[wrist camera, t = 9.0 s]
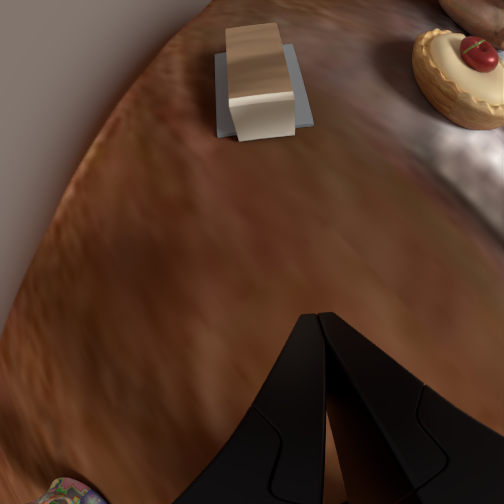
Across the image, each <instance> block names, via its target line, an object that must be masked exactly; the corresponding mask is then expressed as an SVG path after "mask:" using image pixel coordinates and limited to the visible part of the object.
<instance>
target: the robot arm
mask: <svg viewBox="0 0 504 504" xmlns="http://www.w3.org/2000/svg"><path fill="white" fill-rule="evenodd" d="M326 410H327V414H328V418H329V422H330V426H331V430H332V434H333V438H334V443H335V447H336V451H337V455H338V459H339V464H340V468H341V472H342V476H343V481H344V485H345V490H346V494H347V499H348V502H345V503H342V504H504V436H502V435H500V434H499V433H497V432H495V431H494V430H492V429H491V428H489V427H487V426H486V425H484V424H482V423H481V422H479V421H477V420H476V419H474V418H473V417H471V416H470V415H468V414H466V413H465V412H463V411H462V410H460V409H459V408H457V407H456V406H454V405H453V404H452V403H450V402H449V401H448V400H446V399H445V398H444V397H442V396H441V395H439V394H438V393H437V392H436V391H434V390H433V389H432V388H430V387H429V386H428V385H424V383H423V382H422V381H421V380H419V379H418V378H417V377H416V376H414V375H413V374H412V373H410V372H409V371H408V370H407V369H405V368H404V367H403V366H401V365H400V364H399V363H398V362H396V361H395V360H394V359H393V358H391V357H390V356H389V355H387V354H386V353H385V352H384V351H382V350H381V349H380V348H379V347H377V346H376V345H375V344H373V343H372V342H371V341H370V340H368V339H367V338H366V337H364V336H363V335H362V334H361V333H359V332H358V331H357V330H355V329H354V328H353V327H352V326H350V325H349V324H348V323H347V322H345V321H344V320H343V319H341V318H340V317H339V316H338V315H336V314H335V313H333V312H324V313H318V314H317V315H316V314H314V313H313V314H302V315H300V317H299V318H298V320H297V322H296V324H295V326H294V328H293V330H292V332H291V334H290V336H289V338H288V339H287V341H286V343H285V345H284V347H283V349H282V351H281V353H280V354H279V356H278V358H277V360H276V362H275V364H274V365H273V367H272V369H271V371H270V373H269V374H268V376H267V378H266V380H265V382H264V383H263V385H262V387H261V389H260V390H259V392H258V394H257V396H256V397H255V399H254V401H253V403H252V404H251V407H249V409H248V410H247V412H246V414H245V415H244V417H243V419H242V420H241V422H240V423H239V425H238V426H237V428H236V429H235V431H234V432H233V434H232V435H231V437H230V438H229V440H228V441H227V442H226V443H225V445H224V446H223V447H222V448H221V450H220V451H219V452H218V453H217V455H216V456H215V457H214V458H213V460H212V461H211V462H210V463H209V464H208V465H207V466H206V467H205V469H204V470H203V471H202V472H201V473H200V474H199V475H198V476H197V477H196V478H195V480H194V481H193V482H192V483H191V484H190V485H189V486H188V487H187V488H186V489H185V490H184V491H183V492H182V493H181V494H180V495H179V496H178V498H177V499H176V500H175V501H174V502H173V503H172V504H322V502H323V487H324V469H325V443H326Z"/></svg>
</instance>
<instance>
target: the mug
mask: <svg viewBox="0 0 504 504" xmlns="http://www.w3.org/2000/svg"><path fill="white" fill-rule="evenodd" d="M27 504H108V503H107V502H106V501H105V500H104V499H103V498H102V497H101V496H100V495H99V494H97V493H96V492H95V491H94V490H92V489H91V488H90V487H88V486H87V485H85V484H83V483H81V482H79V481H77V480H74V479H71V478H66V477H62V478H57V479H55V480H54V481H53V482H52V483H51V486H50V488H49V490H48V491H47V493H46V494H44V495H42V496H41V497H40V498H39V499H37V500H35V501H33V502H30V503H27Z"/></svg>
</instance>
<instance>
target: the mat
mask: <svg viewBox="0 0 504 504" xmlns="http://www.w3.org/2000/svg"><path fill="white" fill-rule="evenodd" d="M282 47H283V51H284V55H285V59H286V63H287V67H288V72H289V76H290V80H291V85H292V89H293V94H294V99H295V128H299V127H311V126H314V122H313V118H312V114H311V110H310V106H309V102H308V98H307V94H306V91H305V87H304V83H303V79H302V76H301V72H300V69H299V65H298V62H297V58H296V55H295V51H294V48H293V45H292V44H287V45H282ZM215 87H216V118H217V136H218V138H221V137H227V136H234V135H237V132H236V129H235V126H234V122H233V119H232V115H231V112H230V109H229V96H228V75H227V53H226V52H224V53H218V54H215Z"/></svg>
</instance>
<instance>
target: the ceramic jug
mask: <svg viewBox="0 0 504 504" xmlns="http://www.w3.org/2000/svg"><path fill="white" fill-rule="evenodd" d="M438 1H439V4H440V5H441V7H442V8H443V10H444V11H445V12H446V13H447V15H448V16H449V17H450V18H451V19H452V20H453V21H454V22H456V23H457V24H458V25H459V26H460V27H462V28H463V29H464V30H465V31H467V32H468V33H470V34H471V35H472V36H476V37H480V38H482V39H484V40H486V41H487V42H489V43H490V44H491V45H492V46H493V47H494V48H496V49H499V50H503V51H504V0H438Z"/></svg>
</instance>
